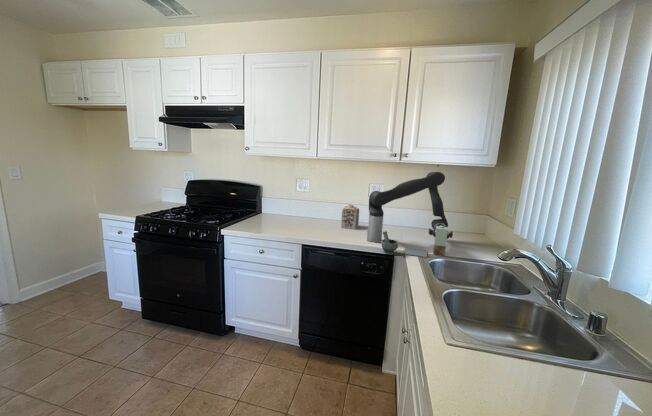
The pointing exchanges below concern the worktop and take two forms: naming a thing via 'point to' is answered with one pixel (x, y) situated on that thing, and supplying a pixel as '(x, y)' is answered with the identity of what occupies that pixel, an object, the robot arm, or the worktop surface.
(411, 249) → the grey square tile
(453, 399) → the worktop surface
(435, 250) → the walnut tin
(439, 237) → the pale green block
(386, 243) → the mortar and pestle
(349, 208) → the decorative jar
